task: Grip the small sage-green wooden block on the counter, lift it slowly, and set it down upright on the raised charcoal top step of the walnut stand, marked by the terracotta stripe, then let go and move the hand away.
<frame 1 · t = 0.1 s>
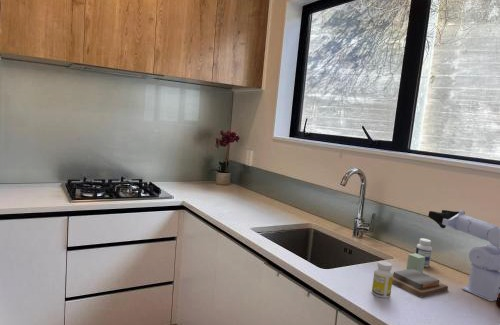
hand: (435, 213, 138), 22 cm above the worktop, tool horizontal, fingers open, 7 cm apart
green block: (414, 271, 138), on the worktop
supplement bottle: (380, 294, 116), on the worktop
stepped stand: (415, 284, 126), on the worktop
pill bottle: (421, 264, 147), on the worktop
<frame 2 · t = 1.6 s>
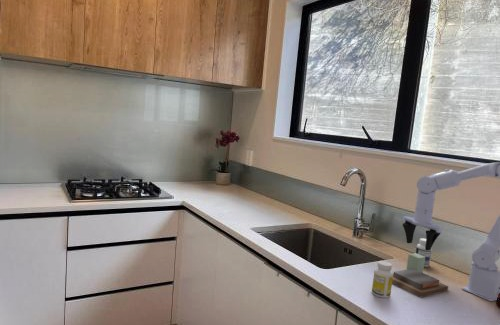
hand: (418, 246, 137), 9 cm above the worktop, tool pointing down, fingers open, 7 cm apart
nothing on the worktop moved.
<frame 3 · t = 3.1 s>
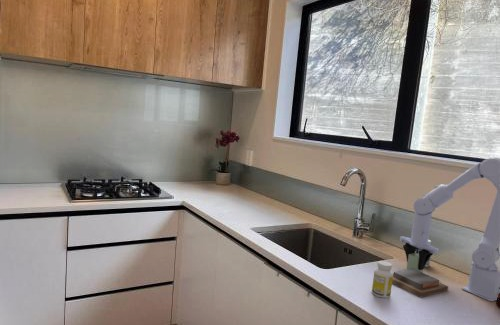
hand: (415, 267, 138), 2 cm above the worktop, tool pointing down, fingers closed on green block, 4 cm apart
green block: (414, 271, 138), on the worktop, touching gripper
everything else where it was.
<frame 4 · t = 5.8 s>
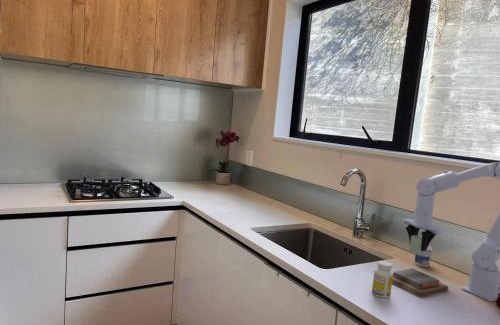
hand: (418, 248, 138), 9 cm above the worktop, tool pointing down, fingers closed on green block, 4 cm apart
green block: (417, 252, 138), point 7 cm above the worktop, touching gripper
everything else where it was.
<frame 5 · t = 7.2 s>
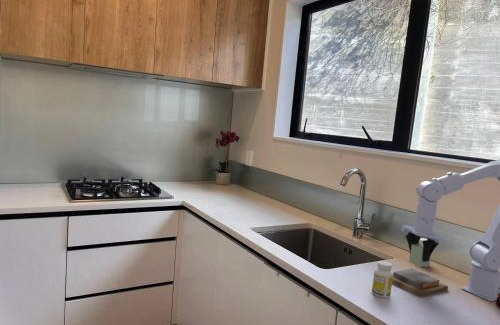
hand: (418, 258, 125), 9 cm above the worktop, tool pointing down, fingers closed on green block, 4 cm apart
green block: (418, 263, 125), point 7 cm above the worktop, touching gripper
everything else where it was.
when the fingers open (6 cm above the worktop, at t = 8.4 s): green block drops 2 cm, resting on stepped stand.
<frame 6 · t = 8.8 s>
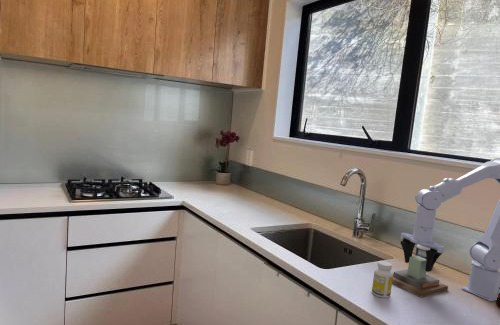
hand: (417, 266, 125), 6 cm above the worktop, tool pointing down, fingers open, 7 cm apart
green block: (416, 275, 126), point 3 cm above the worktop, touching stepped stand
everything else where it was.
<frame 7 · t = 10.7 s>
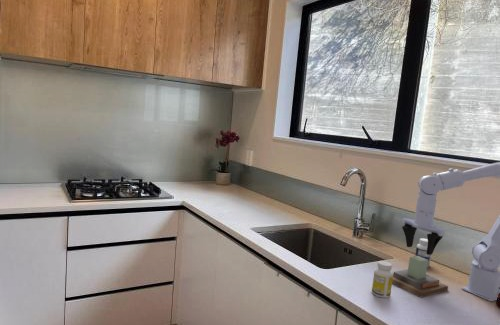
hand: (419, 250, 129), 10 cm above the worktop, tool pointing down, fingers open, 7 cm apart
nothing on the worktop moved.
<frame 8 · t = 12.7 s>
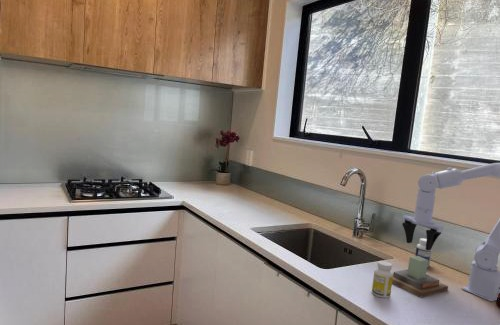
hand: (418, 246, 134), 10 cm above the worktop, tool pointing down, fingers open, 7 cm apart
nothing on the worktop moved.
at the end: green block inside the target area on the stepped stand (0.0 cm from its centre), point 3.0 cm above the stepped stand's base; green block tilted 0°; the gripper is holding nothing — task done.
